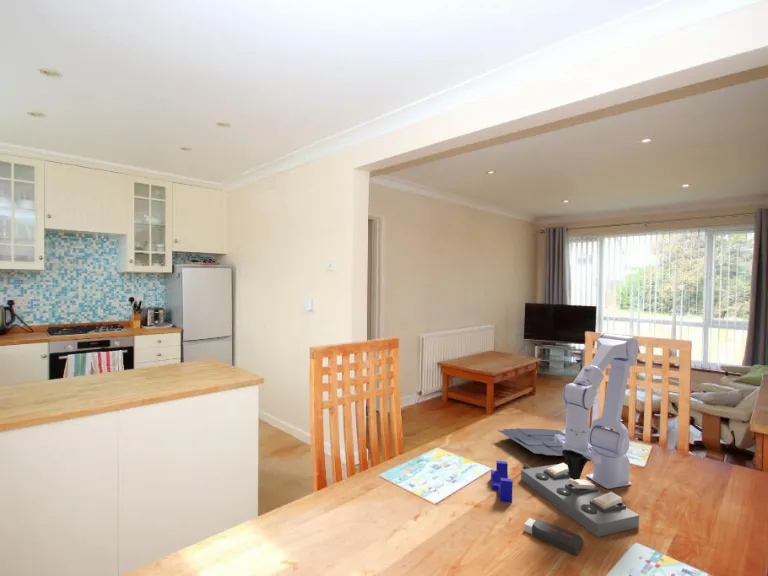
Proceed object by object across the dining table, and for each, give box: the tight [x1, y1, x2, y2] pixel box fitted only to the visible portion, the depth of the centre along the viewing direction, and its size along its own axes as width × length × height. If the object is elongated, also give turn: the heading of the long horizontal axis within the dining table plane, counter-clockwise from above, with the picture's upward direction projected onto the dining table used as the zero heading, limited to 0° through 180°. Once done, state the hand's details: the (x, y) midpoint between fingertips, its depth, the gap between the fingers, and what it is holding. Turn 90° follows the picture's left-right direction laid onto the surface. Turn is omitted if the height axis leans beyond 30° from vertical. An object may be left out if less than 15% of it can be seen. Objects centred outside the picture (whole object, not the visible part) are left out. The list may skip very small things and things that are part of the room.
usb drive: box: [523, 517, 584, 557], centre depth 95 cm, size 5×12×3 cm, turn 49°
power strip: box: [520, 462, 640, 538], centre depth 114 cm, size 13×35×4 cm, turn 19°
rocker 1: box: [547, 462, 569, 477], centre depth 120 cm, size 6×3×1 cm, turn 109°
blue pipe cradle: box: [490, 460, 513, 504], centre depth 116 cm, size 12×4×6 cm, turn 170°
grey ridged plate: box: [497, 427, 592, 457], centre depth 146 cm, size 24×30×4 cm
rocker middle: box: [569, 478, 596, 489], centre depth 112 cm, size 6×3×1 cm, turn 109°
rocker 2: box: [593, 491, 623, 509], centre depth 104 cm, size 6×3×1 cm, turn 109°
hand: (575, 478), depth 111 cm, fingers closed
